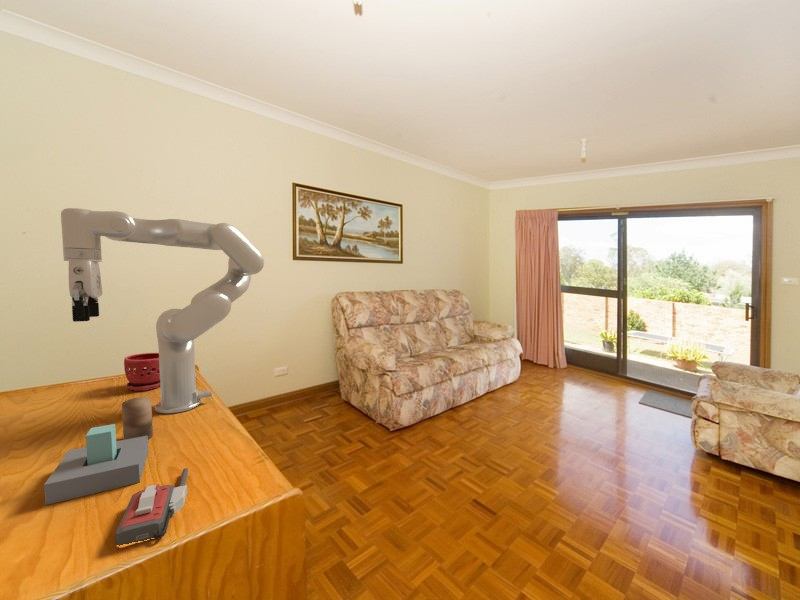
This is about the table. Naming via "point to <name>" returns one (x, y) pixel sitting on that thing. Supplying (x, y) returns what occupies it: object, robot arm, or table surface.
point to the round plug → (137, 418)
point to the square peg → (101, 444)
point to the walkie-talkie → (151, 512)
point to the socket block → (96, 471)
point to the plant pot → (142, 371)
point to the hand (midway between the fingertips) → (86, 318)
